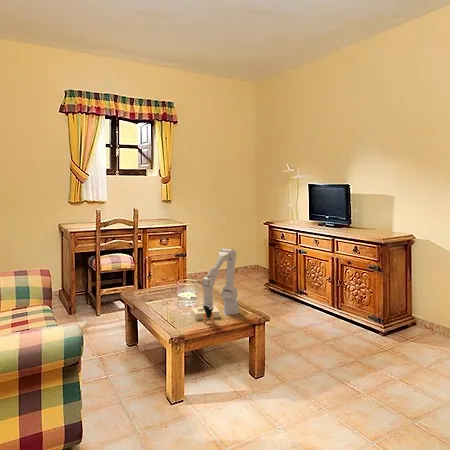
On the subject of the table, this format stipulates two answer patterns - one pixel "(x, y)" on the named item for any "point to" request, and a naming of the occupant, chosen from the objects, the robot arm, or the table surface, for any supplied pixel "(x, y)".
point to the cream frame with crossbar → (200, 311)
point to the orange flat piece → (206, 316)
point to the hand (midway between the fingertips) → (208, 317)
